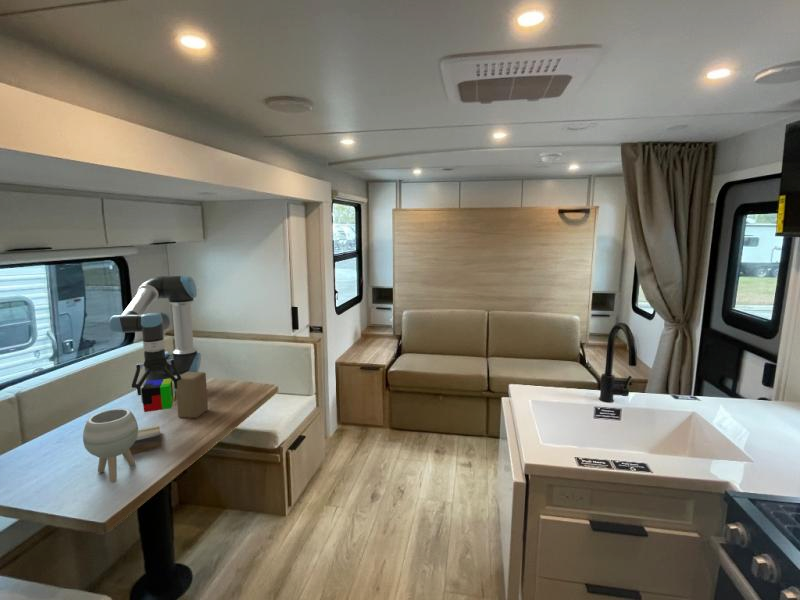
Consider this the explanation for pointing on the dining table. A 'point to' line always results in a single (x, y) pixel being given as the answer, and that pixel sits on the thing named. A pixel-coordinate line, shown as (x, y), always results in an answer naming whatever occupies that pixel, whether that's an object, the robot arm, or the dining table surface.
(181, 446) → the dining table surface
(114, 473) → the planter
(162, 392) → the puzzle toy
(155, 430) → the dock
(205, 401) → the wooden block
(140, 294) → the robot arm
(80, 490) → the dining table surface
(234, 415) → the dining table surface
